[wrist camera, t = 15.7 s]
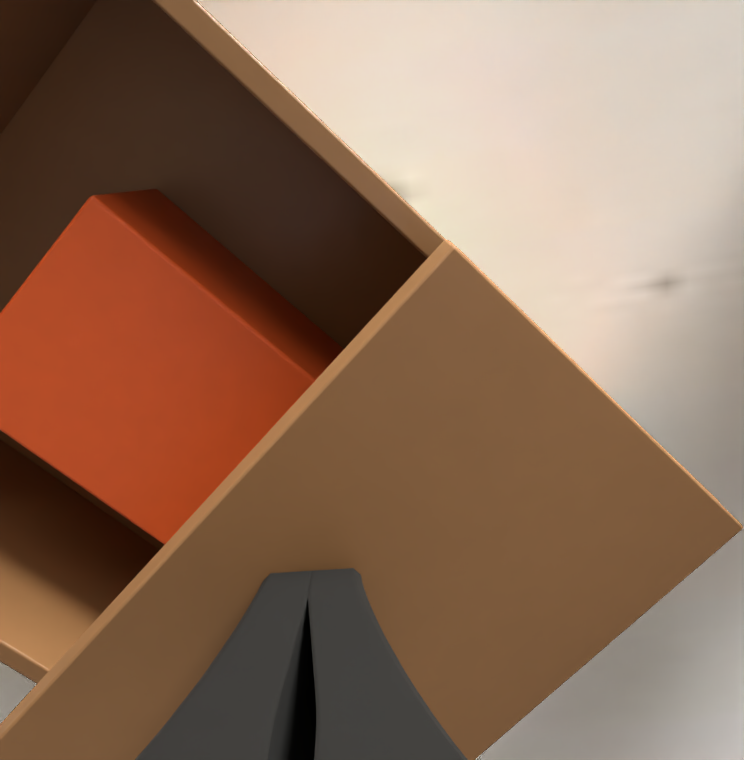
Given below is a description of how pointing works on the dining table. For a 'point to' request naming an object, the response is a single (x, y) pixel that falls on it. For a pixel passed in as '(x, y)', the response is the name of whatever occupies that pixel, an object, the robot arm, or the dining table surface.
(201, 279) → the block
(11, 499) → the box
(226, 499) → the flap
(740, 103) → the dining table surface
